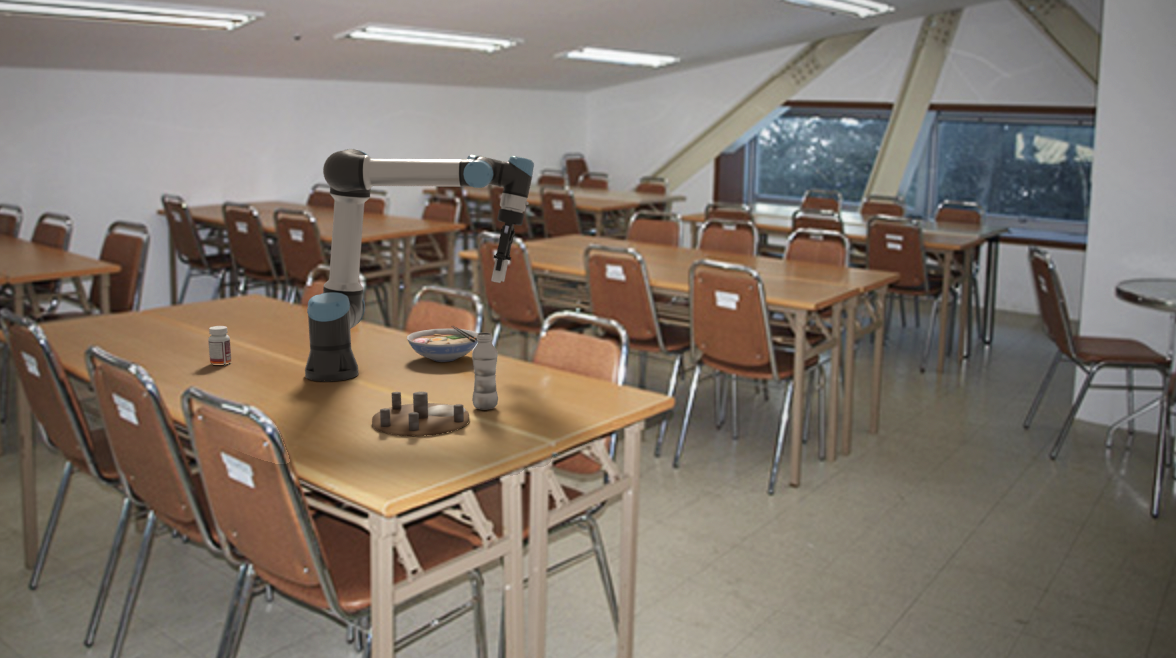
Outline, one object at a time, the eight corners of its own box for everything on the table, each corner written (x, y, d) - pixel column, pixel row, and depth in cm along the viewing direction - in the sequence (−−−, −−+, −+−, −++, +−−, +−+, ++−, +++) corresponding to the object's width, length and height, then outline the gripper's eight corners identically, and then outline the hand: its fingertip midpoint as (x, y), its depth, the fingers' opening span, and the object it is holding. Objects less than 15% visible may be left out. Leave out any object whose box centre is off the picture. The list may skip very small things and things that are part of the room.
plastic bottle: (472, 405, 269) (471, 331, 265) (498, 405, 270) (497, 331, 266) (472, 412, 263) (470, 336, 259) (498, 412, 264) (497, 336, 259)
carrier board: (362, 436, 244) (361, 407, 242) (382, 407, 267) (381, 380, 266) (463, 436, 244) (462, 407, 242) (474, 407, 267) (473, 381, 266)
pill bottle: (227, 360, 316) (224, 324, 313) (234, 364, 311) (232, 327, 309) (207, 363, 312) (204, 327, 309) (214, 367, 307) (211, 330, 305)
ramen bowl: (398, 353, 325) (397, 328, 323) (468, 347, 334) (467, 323, 332) (418, 372, 303) (417, 345, 301) (491, 365, 311) (491, 338, 310)
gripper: (522, 211, 287) (507, 285, 288) (527, 214, 312) (513, 282, 313) (495, 205, 287) (481, 279, 288) (502, 209, 311) (489, 277, 313)
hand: (497, 281), depth 301 cm, fingers open, 13 cm apart
